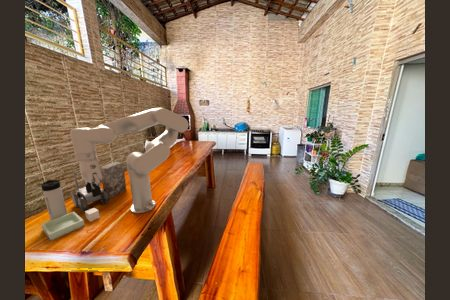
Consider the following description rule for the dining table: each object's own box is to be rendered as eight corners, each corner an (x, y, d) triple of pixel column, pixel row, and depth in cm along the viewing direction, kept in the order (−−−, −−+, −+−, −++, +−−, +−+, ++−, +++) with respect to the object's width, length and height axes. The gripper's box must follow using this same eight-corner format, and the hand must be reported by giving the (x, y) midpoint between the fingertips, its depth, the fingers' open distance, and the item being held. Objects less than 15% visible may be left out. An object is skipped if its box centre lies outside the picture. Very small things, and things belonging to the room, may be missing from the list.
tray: (84, 225, 80) (83, 219, 79) (50, 241, 70) (48, 234, 70) (75, 216, 87) (73, 211, 86) (42, 229, 77) (41, 224, 76)
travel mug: (66, 213, 90) (58, 178, 85) (69, 218, 85) (60, 181, 81) (49, 219, 85) (39, 182, 80) (51, 224, 81) (41, 185, 76)
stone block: (113, 198, 105) (107, 167, 100) (103, 197, 106) (97, 167, 101) (128, 189, 117) (124, 161, 113) (119, 188, 118) (114, 161, 114)
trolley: (110, 203, 98) (104, 171, 94) (85, 214, 89) (77, 178, 84) (97, 196, 107) (91, 166, 103) (73, 204, 98) (66, 172, 93)
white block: (99, 217, 86) (98, 210, 85) (90, 221, 83) (88, 214, 82) (95, 214, 89) (94, 207, 88) (86, 218, 85) (84, 211, 85)
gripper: (105, 157, 72) (112, 195, 76) (89, 152, 82) (95, 186, 86) (83, 161, 66) (92, 203, 70) (68, 155, 75) (77, 192, 80)
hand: (94, 193), depth 78 cm, fingers open, 5 cm apart
